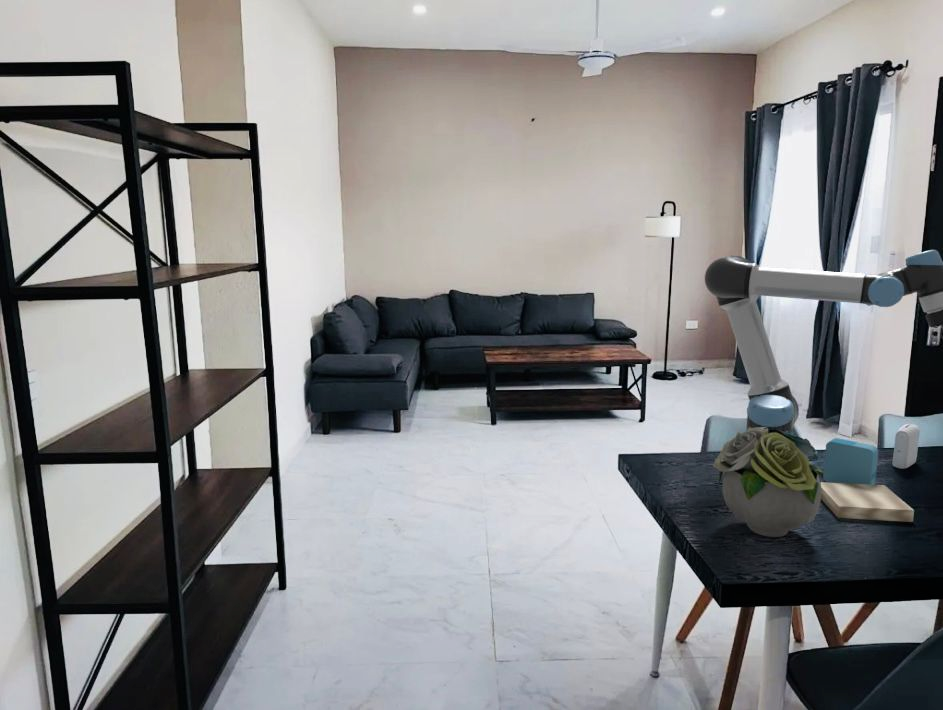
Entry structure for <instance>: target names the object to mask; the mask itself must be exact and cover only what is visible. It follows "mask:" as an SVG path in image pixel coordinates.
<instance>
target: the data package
mask: <svg viewBox="0 0 943 710" xmlns="http://www.w3.org/2000/svg"><path fill="white" fill-rule="evenodd" d="M824 453H825V455H824V462H823V471H822V472H823V478H822V479H823V480H824V482H829V483H849V484H869V485H876V484H875V483H876V477H877V468H878V460H879V459H878V458H879V449H878V448H877V447H876V446H875V445H873V444H869V443H864V442H858V441H853V440H848V439H844V438H833V439H831V440H829V441H828V442H827V443H826V444H825V451H824Z"/></svg>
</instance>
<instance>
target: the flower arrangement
mask: <svg viewBox="0 0 943 710" xmlns="http://www.w3.org/2000/svg"><path fill="white" fill-rule="evenodd" d="M764 428H767V427H756V428H751V427H749V428H748V429H747V430H746V429H745V431H744V432H742V433H741V432H737V434H736V436H735V437H734V438H732V439H730V440H728V441H726V442H725V443H724V444H723V446H722V450H721V451H720V453H719V454H718V456H717V458H716V459H715V460H714V463H713V465H712V466H713V467H714V468H715V469H717V470H718V485H720V484H721V481H722V492H721V493H722V495H723V498H724V502H725V505H726V506H727V508H728V510H729V511H730V512H731V513H732V514H733V515H734V516H735V517H736V518H738V519H739V520H741V521H742V522H744V523H746V525H747V527H748V528H749V529H750V531H751V532H753V533H755V534H758V535H760V536H763V537H769V538H781V537H784V536H786V535H787V534H789V531H793V530H798V529H800V528H801V527H803V526H805V525H807V524H808V523H811V522H812V521H814V520H815V518H816V517H817V513H818V511H819V510H820V507H821V506H820V505H821V501H822V499H821V493H822V489H821V482H822V481H821V480H820V477H821V478H822V479H824V478H823V471H822V469H821V468H820V467H818V466H815V465H812V464H810V460H811V461H812V460H813V461H814V460H819V458H818V455H817V453H818V451H816V448H815V447H814V446H813V445H812V444H811V441H810V440H809V439H807V438H803V437H800V436H796V435H795V432H794V430H793V429H792V430H791V431H789V432H788V431H786V432H787V433H786V432H784V431H780V430H770V429H769V430H768V429H764ZM812 452H814V454H813V455H810V454H811V453H812ZM808 455H809V456H808ZM723 474H724V475H723ZM722 477H723V478H722Z"/></svg>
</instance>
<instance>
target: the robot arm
mask: <svg viewBox="0 0 943 710" xmlns="http://www.w3.org/2000/svg"><path fill="white" fill-rule="evenodd" d="M704 282H705V283H704V284H705V286H706V288H707V290H708V291H709V292H710V293H711V294H712V295H713V296H715V297H716V300H717V303H718V306H719V308H720V309H723V310H725V312H726V315H727V317H728V320H729V324H730V327H731V329H732V331H733V335H734V339H735V342H736V344H737V345H736V346H737V348H738V352H739V354H740V357H741V360H742V363H743V367H744V370H745V373H746V375H747V379H748V382H749V385H750V387H749V389H748V391H747V393H746V395H747V396H748V401H749V402H748V404H747V405H748V406H747V408H746V415H747V416H746V427H745V428H746V429H745V431H746V430H747V429H748V428H749V427H751V428H756V427H767V428H764V429H768V430H769V429H770V430H780V431H784V432H786V431H788V432H789V431H791V430H792V431H793V428H794V426H795V424H796V422H797V420H798V418H799V414H800V413H799V412H800V411H799V410H800V408H799V402H797V400H796V398H795V397H794V396H793V394H792V391H791V388H790V387H791V386H790V385H789V383H788V382H787V381H785V380H783V379H782V378H781V374H780V372H779V368H778V366H777V362H776V359H775V355H774V353H773V350H772V347H771V344H770V339H769V337H768V333H767V331H766V328H765V324H764V322H763V319H762V316H761V315H762V314H761V312H760V309H759V307H758V302H757V300H758V299H759V297H760V296H761V297H762V296H763V297H774V298H775V297H776V298H787V299H799V300H801V299H802V300H811V301H812V300H814V301H827V302H836V303H851V304H861V305H865V306H866V305H867V306H868V307H871V306H877V307H880V308H890V307H893V306H895V305H896V304H898V303H899V302H900V301H901V300H902V299H903V297H905V296H908V295H912V294H913V295H914V293H916V294H917V296H918V301H919V303H920V307H921V308H922V311H923V312H924V313H926V314H925V319H926V321H927V324H928V327H929V328H936V327H940V326H941V327H940V330H941V331H940V332H939V334H940V337H941V339H942V340H943V259H942V257H941V255H940V253H939V251H938V250H936V249H930V250H925V251H923V252H920V253H916V254H913V255H910V256H908V257H906V258H905V265H903V266H901V267H898V268H895V269H892V270H888V271H885V272H881V273H878V274H865V273H863V274H862V273H851V272H850V273H849V272H836V271H835V272H834V271H818V270H805V269H804V270H802V269H790V268H789V269H787V268H772V267H760V266H759V265H758V264H757V263H754V262H753V263H752V262H751V261H749V260H748V259H746V258H745V257H743V256H741V255H728V256H725V257H720V258H718V259H715V260H714V261H713V262H711V263H710V264H709V266H708V267H707V268H706V270H705V273H704ZM786 433H787V432H786Z"/></svg>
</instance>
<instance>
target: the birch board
mask: <svg viewBox="0 0 943 710" xmlns="http://www.w3.org/2000/svg"><path fill="white" fill-rule="evenodd" d="M820 482H821V489H822V493H821V501H822V502H823V503H824V504H825V505H826V506H827V507H828V509H829V510H830V511H831V512H832V513H833V515H835V517H837V519H852V520H853V519H855V520H872V521H888V522H903V523H904V522H906V523H907V522H908V523H909V522H910V523H913V522H914V515H915V514H914V513H915V510H914V509H913V508H912V507H911V506H910V505H909V504H907V503H906V502H905V501H903V500H902V498H900V497H899V496H898V495H897V494H895V493H894V492H893V491H892V490H891V489H890V488H889V487H888V486H886V485H883V484H874V485H869V484H849V483H829V482H827V481H824V482H823V481H820Z"/></svg>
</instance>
